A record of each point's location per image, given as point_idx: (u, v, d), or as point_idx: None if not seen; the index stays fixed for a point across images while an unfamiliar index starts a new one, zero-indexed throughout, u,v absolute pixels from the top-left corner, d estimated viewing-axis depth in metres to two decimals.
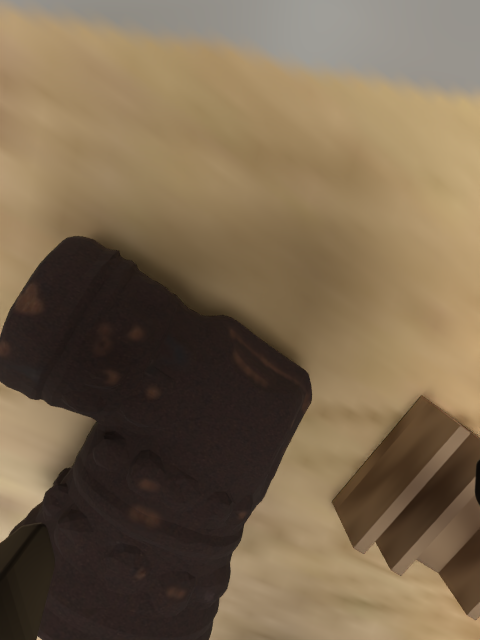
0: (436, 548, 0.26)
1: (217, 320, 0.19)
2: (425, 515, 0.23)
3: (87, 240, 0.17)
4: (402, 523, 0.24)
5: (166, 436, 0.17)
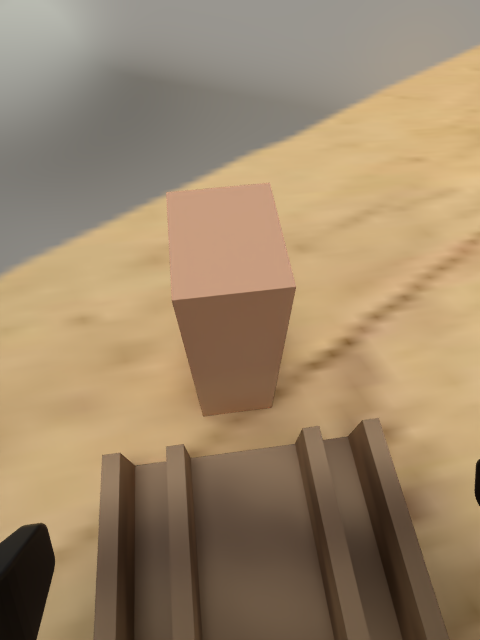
0: (296, 624, 0.17)
1: None
2: None
3: None
4: None
5: None
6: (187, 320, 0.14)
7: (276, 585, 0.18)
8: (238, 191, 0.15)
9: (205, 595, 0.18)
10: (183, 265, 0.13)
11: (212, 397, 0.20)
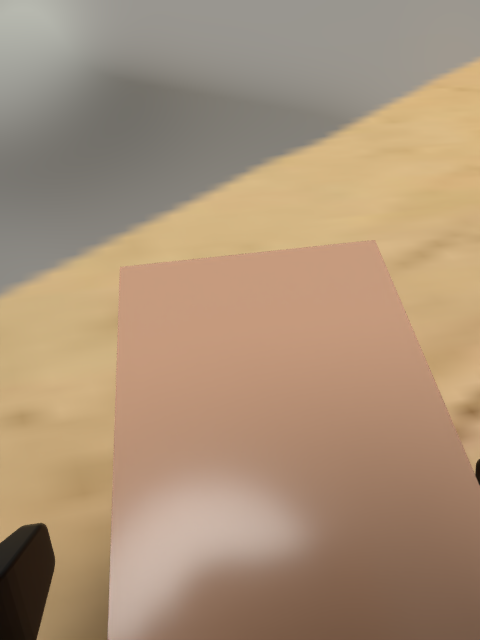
0: None
1: None
2: None
3: None
4: None
5: None
6: None
7: None
8: (300, 266, 0.06)
9: None
10: (155, 533, 0.04)
11: None
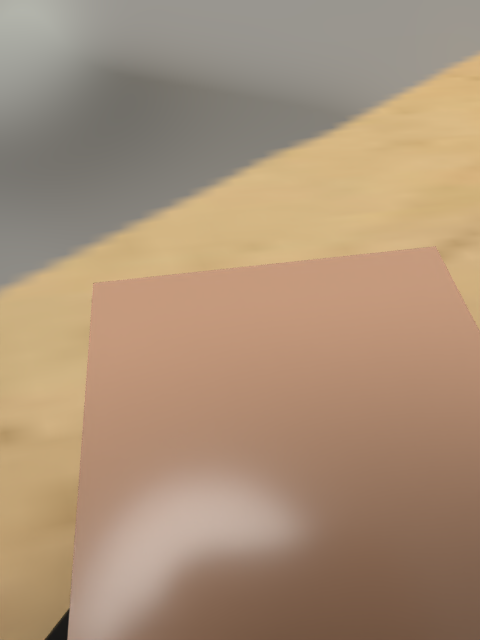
0: None
1: None
2: None
3: None
4: None
5: None
6: None
7: None
8: (339, 281, 0.04)
9: None
10: None
11: None
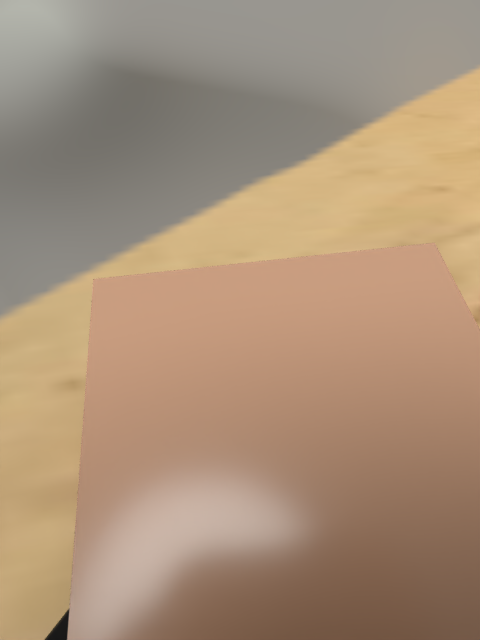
0: None
1: None
2: None
3: None
4: None
5: None
6: None
7: None
8: (337, 278, 0.04)
9: None
10: None
11: None
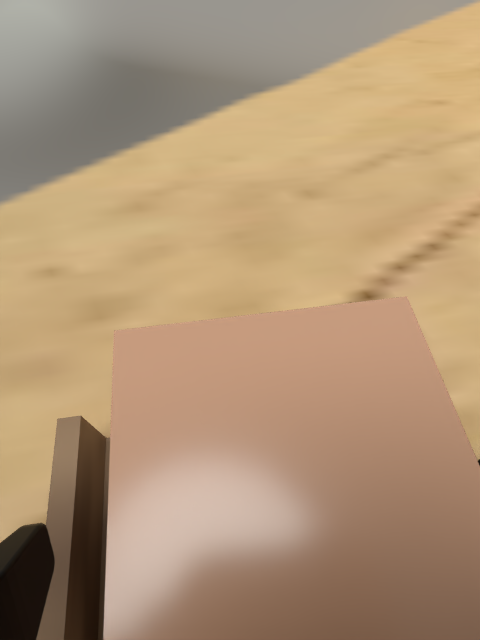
0: None
1: None
2: None
3: None
4: None
5: None
6: None
7: None
8: (322, 329, 0.05)
9: None
10: None
11: None
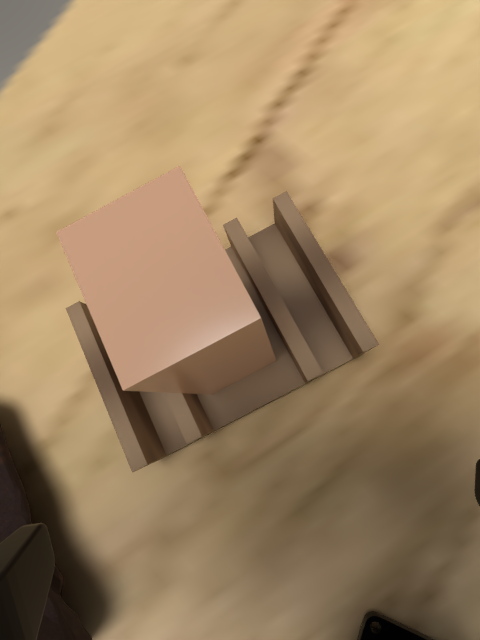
0: (268, 373, 0.22)
1: None
2: None
3: None
4: None
5: None
6: (152, 385, 0.11)
7: None
8: (145, 196, 0.11)
9: None
10: (118, 336, 0.10)
11: (214, 387, 0.19)
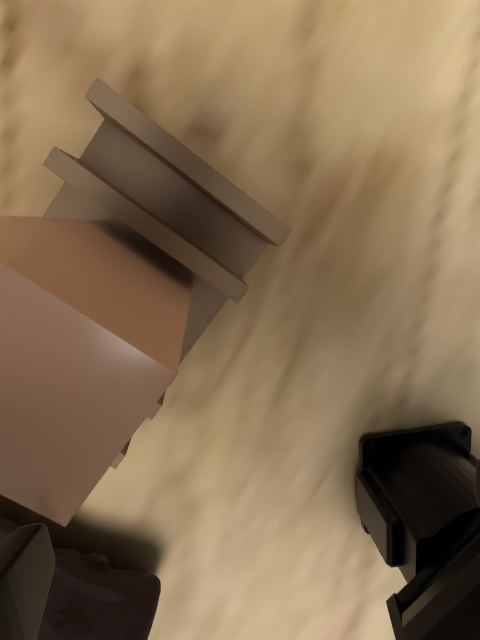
0: (191, 299, 0.19)
1: None
2: None
3: None
4: None
5: None
6: None
7: None
8: None
9: None
10: (16, 479, 0.08)
11: None
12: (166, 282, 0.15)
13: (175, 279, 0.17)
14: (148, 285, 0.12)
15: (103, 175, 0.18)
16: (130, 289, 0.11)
